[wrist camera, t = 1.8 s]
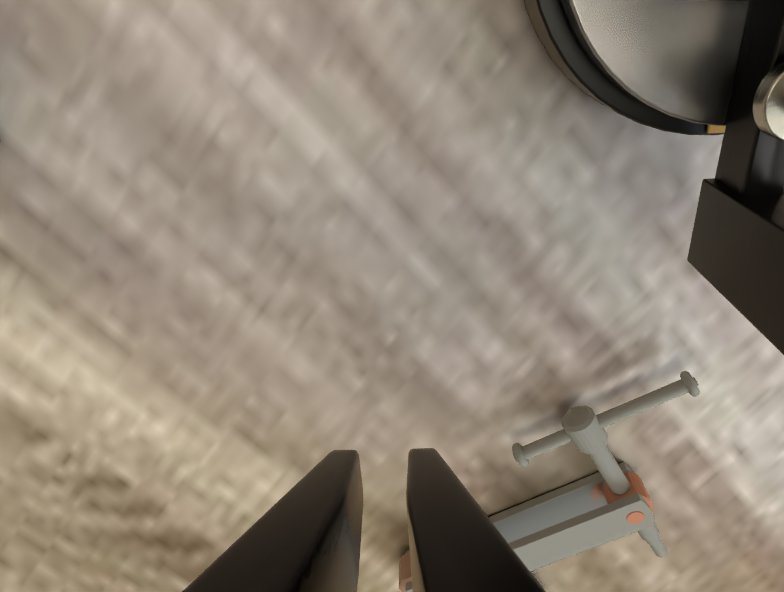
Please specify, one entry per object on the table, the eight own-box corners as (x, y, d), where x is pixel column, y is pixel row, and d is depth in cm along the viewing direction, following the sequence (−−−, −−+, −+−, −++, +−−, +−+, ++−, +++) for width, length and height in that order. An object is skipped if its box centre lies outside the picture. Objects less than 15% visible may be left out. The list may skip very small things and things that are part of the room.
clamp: (463, 664, 28) (342, 540, 24) (459, 619, 30) (348, 498, 26) (785, 555, 24) (702, 384, 20) (757, 512, 25) (676, 349, 22)
